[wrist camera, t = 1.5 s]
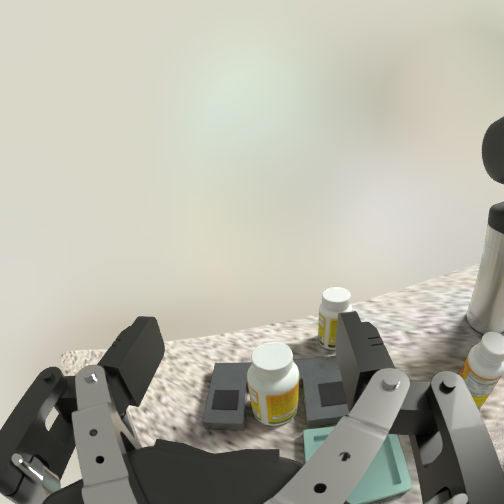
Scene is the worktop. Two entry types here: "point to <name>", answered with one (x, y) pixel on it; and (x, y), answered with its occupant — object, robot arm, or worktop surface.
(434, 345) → the worktop surface
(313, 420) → the grey notched plate
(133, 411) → the worktop surface
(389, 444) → the tray
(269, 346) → the supplement bottle
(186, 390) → the worktop surface
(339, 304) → the supplement bottle
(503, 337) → the supplement bottle
